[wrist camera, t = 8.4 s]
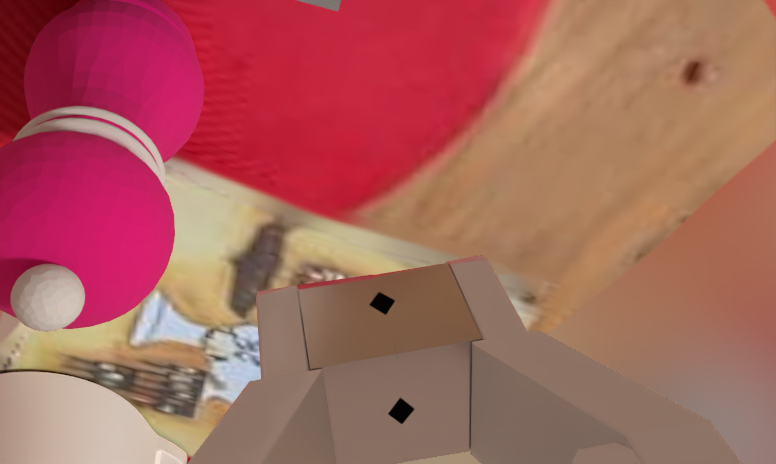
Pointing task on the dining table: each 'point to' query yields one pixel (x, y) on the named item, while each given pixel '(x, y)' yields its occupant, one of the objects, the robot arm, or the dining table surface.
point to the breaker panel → (324, 3)
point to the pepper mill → (95, 163)
